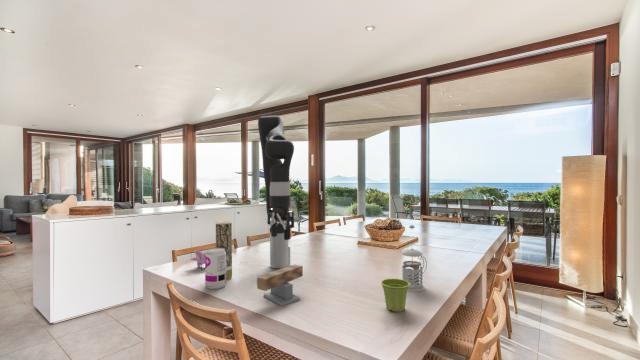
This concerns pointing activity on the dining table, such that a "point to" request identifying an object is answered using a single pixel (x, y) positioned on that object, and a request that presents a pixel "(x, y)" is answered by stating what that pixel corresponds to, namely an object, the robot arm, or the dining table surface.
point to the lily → (199, 258)
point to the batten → (279, 277)
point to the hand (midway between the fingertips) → (280, 238)
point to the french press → (415, 272)
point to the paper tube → (225, 243)
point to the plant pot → (395, 293)
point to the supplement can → (215, 268)
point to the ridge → (282, 294)
